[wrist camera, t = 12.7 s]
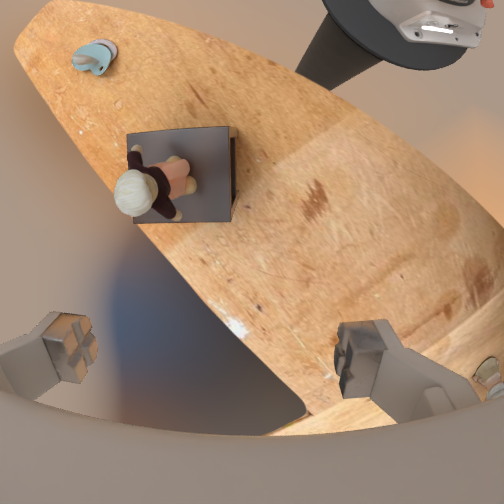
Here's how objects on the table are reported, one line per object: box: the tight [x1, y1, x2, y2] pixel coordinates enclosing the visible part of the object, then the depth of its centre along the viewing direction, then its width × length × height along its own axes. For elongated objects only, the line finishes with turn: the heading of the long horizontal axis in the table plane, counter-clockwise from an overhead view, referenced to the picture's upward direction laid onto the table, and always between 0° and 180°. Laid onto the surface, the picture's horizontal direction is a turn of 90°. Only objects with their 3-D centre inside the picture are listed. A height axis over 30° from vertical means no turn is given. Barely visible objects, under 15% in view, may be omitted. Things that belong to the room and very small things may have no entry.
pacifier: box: [72, 39, 117, 75], centre depth 34 cm, size 7×6×6 cm
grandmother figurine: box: [114, 145, 197, 221], centre depth 25 cm, size 8×4×13 cm, turn 40°
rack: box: [127, 126, 239, 224], centre depth 37 cm, size 11×10×13 cm
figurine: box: [473, 358, 504, 401], centre depth 48 cm, size 9×8×20 cm
